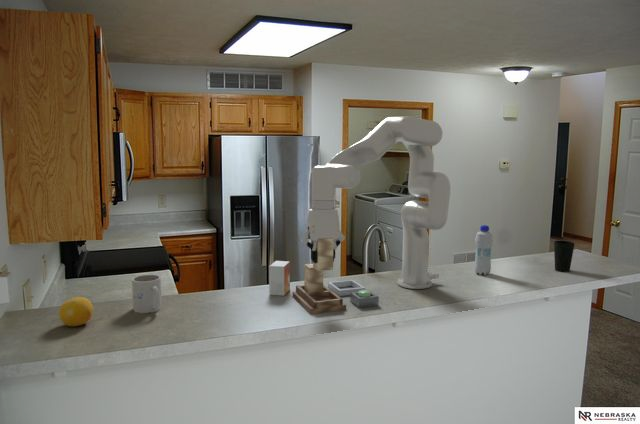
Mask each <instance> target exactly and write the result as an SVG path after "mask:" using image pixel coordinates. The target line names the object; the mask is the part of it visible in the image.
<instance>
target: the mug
mask: <svg viewBox="0 0 640 424" xmlns="http://www.w3.org/2000/svg"><path fill="white" fill-rule="evenodd" d="M131 288H132V291H131V292H132V307H133V308H132V309H133V312H134V311H135V313H137V312H139V314H150V313H149V312H151V313H155V312H158V311H161V310H162V307H163V303H162V300H163V299H162V298H163V297H162V278H161V276H160V275H158V274H141V275H137V276H134V277H132V279H131Z"/></svg>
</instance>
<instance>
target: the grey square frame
mask: <svg viewBox="0 0 640 424" xmlns="http://www.w3.org/2000/svg"><path fill="white" fill-rule="evenodd" d="M345 287H353V288H345ZM327 288H329V289H330V290H331V291H333V292H334V293H335V294H336V295H338V296H339V297H344V296H350V293H351V292H359V291H361V290H366V287H364V286H363V285H361V284H360V283H359V282H356V281H355V280H354V279H350V280H349V279H348V280H340V281H339V280H338V281H328V283H327ZM341 288H343V289H341Z"/></svg>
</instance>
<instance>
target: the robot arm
mask: <svg viewBox="0 0 640 424" xmlns="http://www.w3.org/2000/svg"><path fill="white" fill-rule="evenodd" d="M442 128H443V127H442V126H441V125H440V124H439V123H438V122H436V121H434V120H430V119H429V120H428V119H424V118H420V117H415V116H409V115H404V116H403V115H401V116H399V115H398V116H388V117H386V118H385V119H383V120H382V121H381V122H380V123H379V124H378V125H377V126H375V127H374V128H373V129H372V131H370V132H369V133H368V134H367V135H366V136H365V137H364V138H362V139H361V140H360V141H358V142H356V143H354V144H352V145H351V146H349V147H347V148H345V149H343V150H342V151H340V152H339V153H336V154H335V156H333V157H332V158H331V159H330V160H329V161H328V162H327V163H326V164H324V165H315V166H314V167H313V168H312V170H311V208H310V209H308V213H307V219H306V229H305V230H306V231H305V233H304V235H303V236H302V237H301V238H300V241H301V242H302V243H303V244H305V245H306V246H307V248H309V249H310V259H311V261H312V263H313V262H314V263H317V251H316V248H317V242H318V239H334V240H333V263H334V262H335V259H336V250H337V248H338V247H339V245H340V244H341V243H342V242H344V240H346V236H345V235H344V234H343V232H342V231H341V228H340V227H341V226H340V215H339V212H338V209H337V206H340V201H339V200H337V199H336V197H337V196H336V195H337V193H336V192H337V189H347V190H349V189H353V188H355V187H357V186H359V183H361V178H362V176H361V175H362V174H361V172H360V170H359V169H358V168H357V167H359V166H362V165H367V164H371V163H373V162H376V161H378V160H380V159H381V158H382V157H383V156H384V155H385V154H386V153H387V152H388V151H389V150H390V149H391V148H392V147H393V146H395V144H397V143H400V142H401V143H402V144H403V146H404V147H405V148H406V150H407V152H408V155H409V172H408V178H407V179H408V181H407V189H408V190H407V191H408V192H409V195H411V196H413V197H418V198H423V199H428V201H424V200H417V199H416V200H414V199H413V200H409V201H407V202H405V203H404V204H403V205H402V207H401V209H400V210H401V211H400V218H401V219H400V220H401V224H402V261H401V262H402V264H401V268H402V269H401V277H400V278H398V280H397V285H398V286H400V287H402V288H406V289H409V290H411V289H412V290H425V289H429V288H431V287H432V286H433V282H432V281H431V280H433V279H440V274H439V273H436V272H434V273H433V272H429V253H430V235H429V232H428V230H430V231H431V230H432V231H439V230H441V229H442V228H444V226H445V225H446V224H447V221H448V215H449V205H450V195H451V182H450V179H449V178H448V176H447V175H446V174H444V173H443V172H439V171H434V166H435V165H434V162H435V159H434V158H435V157H434V153H433V150H432V148H431V147H434V146H437V145H438V144H439V143H441V140H442V138H443V129H442ZM308 240H310V241H308Z"/></svg>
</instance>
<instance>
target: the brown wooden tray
mask: <svg viewBox="0 0 640 424" xmlns="http://www.w3.org/2000/svg"><path fill="white" fill-rule="evenodd" d="M293 296H294V297H293ZM292 297H293V298H294V299H295V300H296V301H297V302H298V303H299V304H300V305H301V306H302V307H303V308H304V309H305V310H306V311H307V312H309V314H310V315H312V314H321V313H329V312H337V311H343V310H344V311H345V310H347V304H346V303H344V299H343V298H342V297H341V296H338V295H337V294H336V293H334V292H333V291H332V290H331V289H329V288H328V286H327V285H325V284H324V283H323V291H321V292H311V293H307V292H306V291H304V284H302V285H301V284H300V285H296V286H295V291H292Z"/></svg>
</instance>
